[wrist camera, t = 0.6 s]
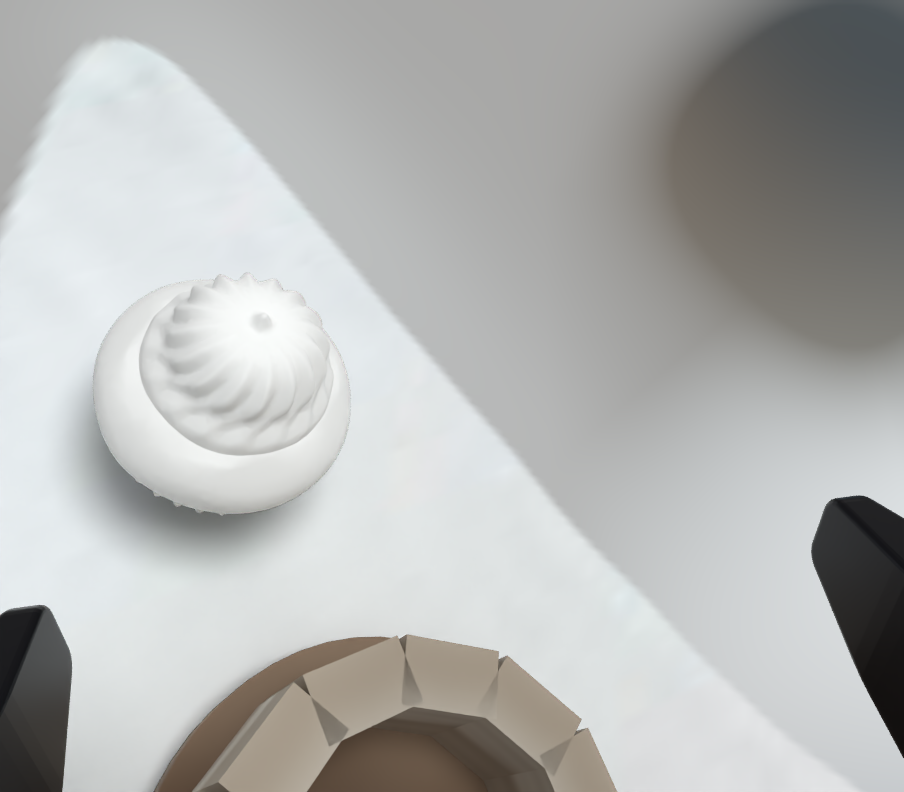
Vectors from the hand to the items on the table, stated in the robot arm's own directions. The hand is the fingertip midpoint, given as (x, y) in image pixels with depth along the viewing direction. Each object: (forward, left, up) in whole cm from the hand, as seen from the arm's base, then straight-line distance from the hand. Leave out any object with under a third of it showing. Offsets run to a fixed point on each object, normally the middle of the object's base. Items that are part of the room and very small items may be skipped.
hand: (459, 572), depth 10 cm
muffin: (+7, +2, -13) cm, 15 cm away
